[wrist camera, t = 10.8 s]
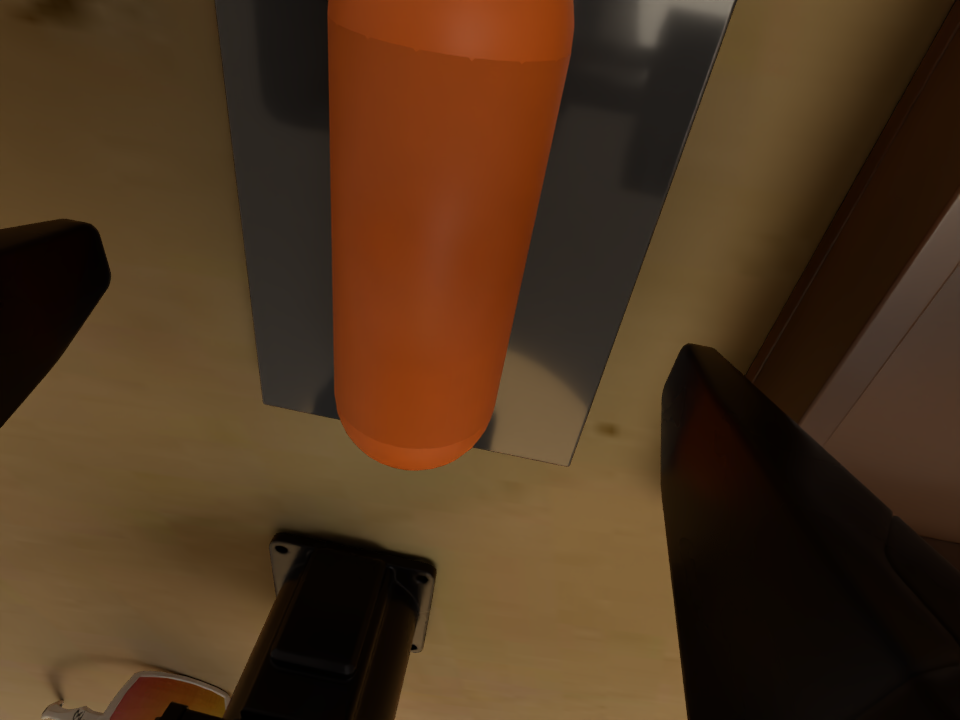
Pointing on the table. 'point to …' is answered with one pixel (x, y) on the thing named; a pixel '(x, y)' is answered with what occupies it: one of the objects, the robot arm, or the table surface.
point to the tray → (888, 314)
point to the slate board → (558, 224)
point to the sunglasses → (150, 699)
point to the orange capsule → (434, 208)
